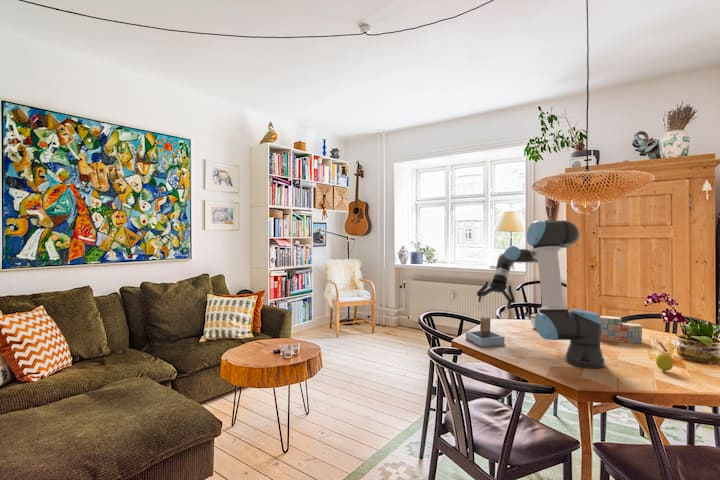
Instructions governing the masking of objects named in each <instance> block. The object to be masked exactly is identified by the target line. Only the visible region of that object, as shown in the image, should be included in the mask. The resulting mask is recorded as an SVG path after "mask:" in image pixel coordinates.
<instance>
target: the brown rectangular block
mask: <svg viewBox="0 0 720 480" xmlns="http://www.w3.org/2000/svg"><path fill="white" fill-rule="evenodd" d="M479 318H480V328H479V329H480V330H479V331H480V338H489V337H490V331H491V318H490V317H487V316H481V317H479Z"/></svg>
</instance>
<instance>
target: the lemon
mask: <svg viewBox="0 0 720 480" xmlns="http://www.w3.org/2000/svg"><path fill="white" fill-rule="evenodd" d="M655 363H656V367H657V368H659V369H660V370H661V371H662V372H664V371H666V372H667V371H670V370H672V368H673V367H674V361H673V358H672V356H671V355H669V354H668V353H666V352H663V353H660V354H658V355H657V357H656V360H655Z"/></svg>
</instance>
